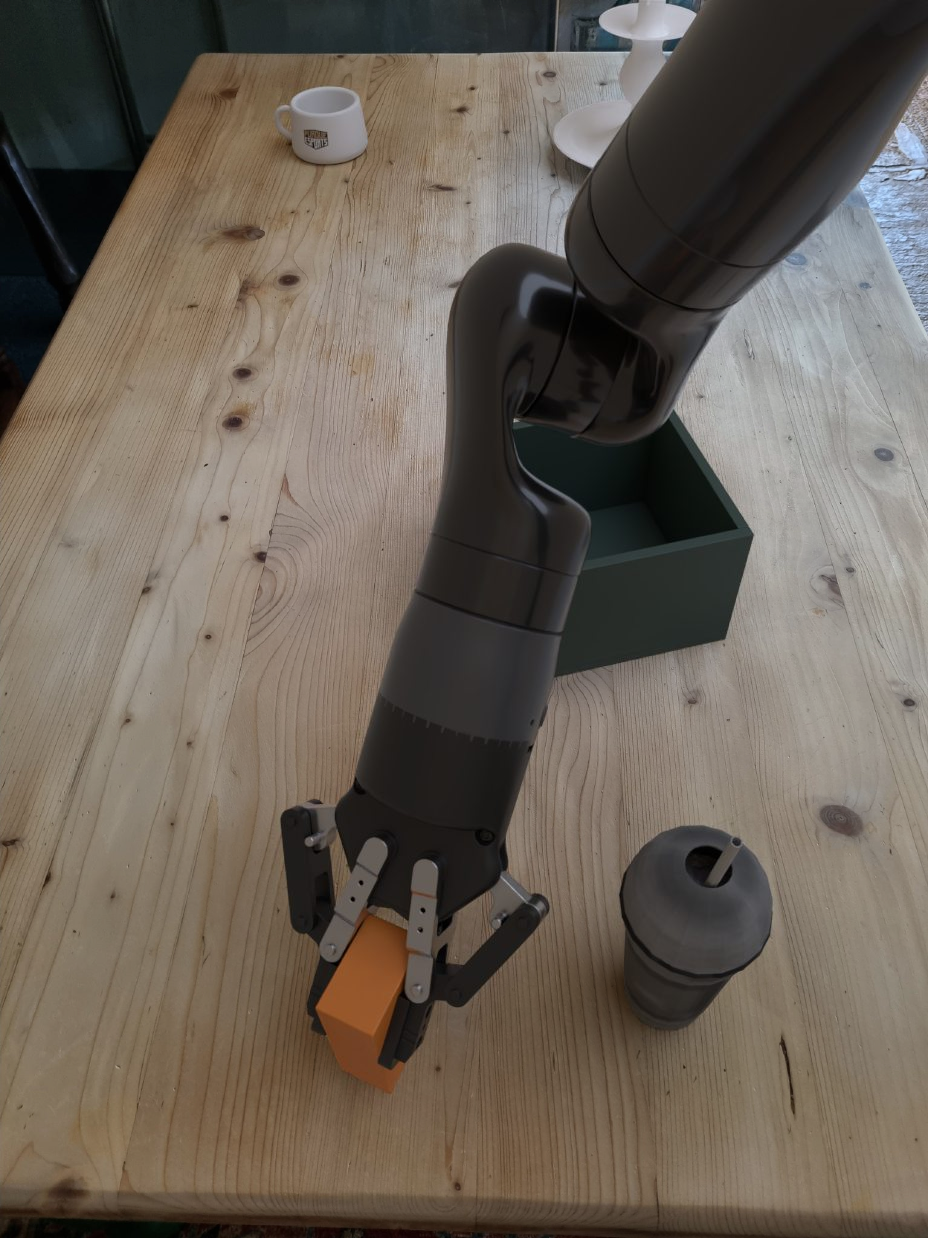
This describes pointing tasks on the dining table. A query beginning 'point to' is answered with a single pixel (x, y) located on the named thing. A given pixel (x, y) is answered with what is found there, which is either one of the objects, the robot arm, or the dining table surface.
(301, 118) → the mug
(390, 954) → the block
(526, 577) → the robot arm
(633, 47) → the candlestick
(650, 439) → the open box
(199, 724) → the dining table surface
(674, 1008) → the beverage cup
